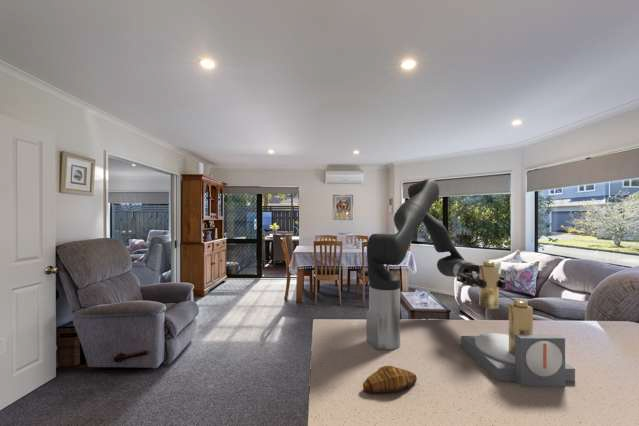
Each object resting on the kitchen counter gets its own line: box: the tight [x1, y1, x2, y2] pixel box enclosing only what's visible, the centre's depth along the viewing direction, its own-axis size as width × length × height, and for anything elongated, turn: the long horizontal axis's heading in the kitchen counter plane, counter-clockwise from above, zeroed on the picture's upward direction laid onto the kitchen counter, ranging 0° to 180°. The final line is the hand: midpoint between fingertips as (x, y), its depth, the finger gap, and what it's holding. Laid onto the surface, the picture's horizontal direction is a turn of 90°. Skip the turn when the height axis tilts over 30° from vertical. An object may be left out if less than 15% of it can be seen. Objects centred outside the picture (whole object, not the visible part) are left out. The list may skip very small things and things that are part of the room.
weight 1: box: [478, 260, 500, 310], centre depth 86 cm, size 5×5×13 cm
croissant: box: [362, 365, 418, 394], centre depth 65 cm, size 14×7×5 cm, turn 108°
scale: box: [460, 332, 576, 388], centre depth 75 cm, size 18×21×11 cm
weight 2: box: [508, 299, 534, 356], centre depth 73 cm, size 5×5×13 cm
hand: (493, 284), depth 84 cm, fingers closed on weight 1, 5 cm apart
